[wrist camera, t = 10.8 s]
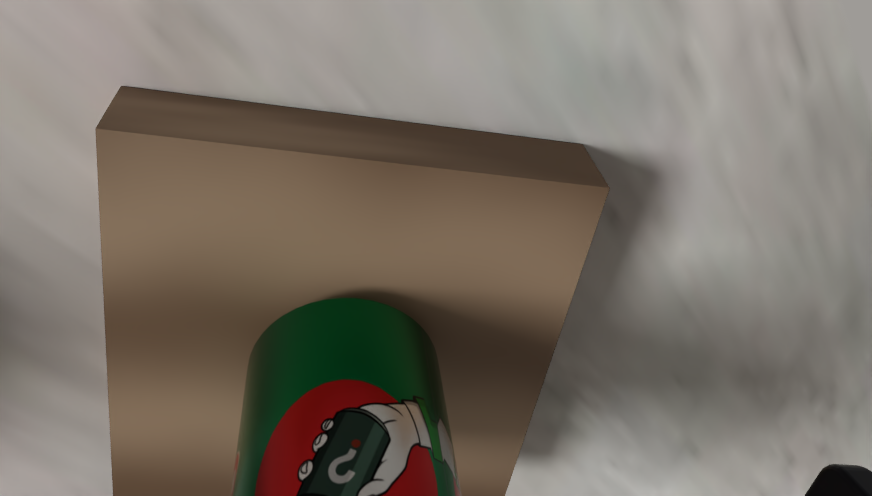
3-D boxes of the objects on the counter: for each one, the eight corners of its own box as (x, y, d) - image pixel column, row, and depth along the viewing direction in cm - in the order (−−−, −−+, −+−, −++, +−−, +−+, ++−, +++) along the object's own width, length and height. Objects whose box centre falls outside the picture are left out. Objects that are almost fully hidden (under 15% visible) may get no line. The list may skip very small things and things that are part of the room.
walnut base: (487, 450, 28) (500, 508, 26) (131, 434, 25) (113, 496, 23) (582, 144, 21) (609, 187, 19) (121, 86, 19) (95, 128, 17)
